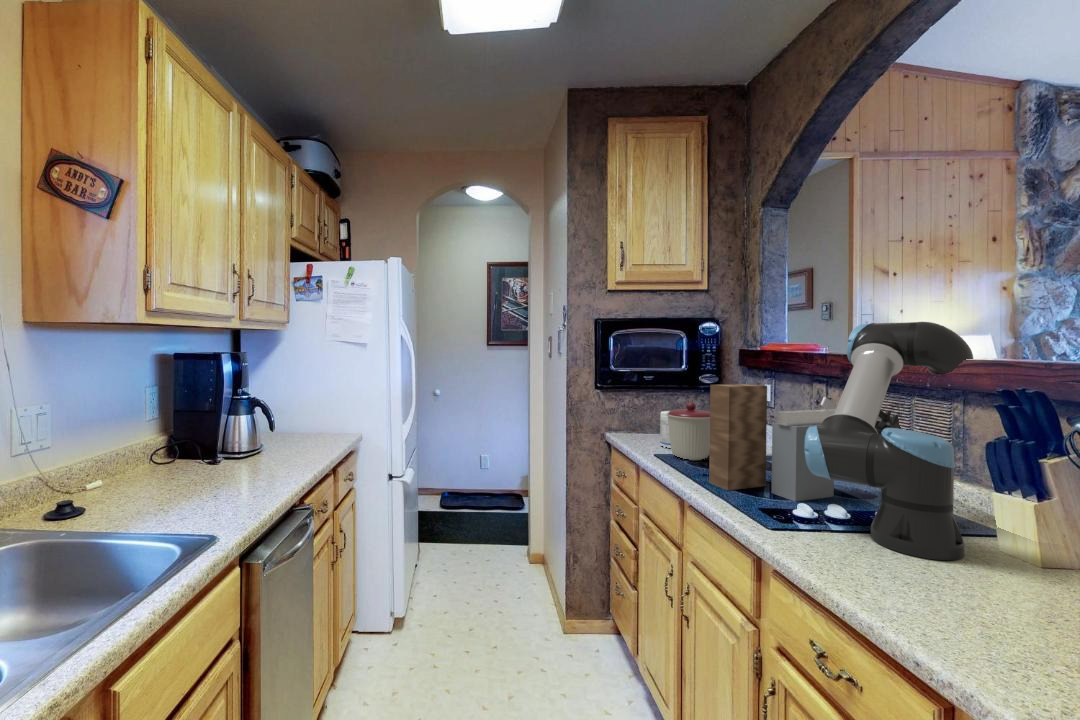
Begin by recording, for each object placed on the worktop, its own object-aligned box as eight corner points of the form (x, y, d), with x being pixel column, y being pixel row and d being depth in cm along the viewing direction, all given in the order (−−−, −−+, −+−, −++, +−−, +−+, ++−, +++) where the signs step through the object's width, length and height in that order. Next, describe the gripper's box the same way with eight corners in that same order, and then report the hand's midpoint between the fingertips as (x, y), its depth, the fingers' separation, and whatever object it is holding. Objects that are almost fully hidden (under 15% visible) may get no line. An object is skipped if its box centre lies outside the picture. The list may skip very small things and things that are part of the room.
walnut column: (745, 479, 147) (746, 384, 146) (765, 486, 139) (767, 385, 139) (709, 483, 142) (710, 384, 142) (727, 490, 135) (729, 386, 134)
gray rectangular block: (808, 488, 137) (809, 420, 137) (833, 496, 130) (834, 424, 129) (771, 493, 132) (772, 422, 132) (795, 501, 125) (796, 427, 125)
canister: (686, 465, 165) (687, 405, 165) (656, 454, 182) (656, 400, 182) (726, 461, 172) (727, 404, 172) (693, 451, 189) (693, 399, 188)
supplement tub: (668, 443, 204) (669, 410, 204) (688, 447, 197) (688, 412, 197) (655, 446, 198) (655, 411, 198) (674, 450, 191) (674, 414, 190)
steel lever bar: (842, 420, 138) (842, 408, 138) (853, 422, 135) (853, 409, 135) (776, 424, 130) (776, 411, 130) (787, 425, 127) (787, 413, 126)
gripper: (928, 455, 130) (883, 420, 124) (843, 439, 154) (802, 409, 147) (937, 431, 132) (893, 395, 125) (851, 419, 155) (811, 388, 149)
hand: (844, 403), depth 136 cm, fingers open, 13 cm apart
